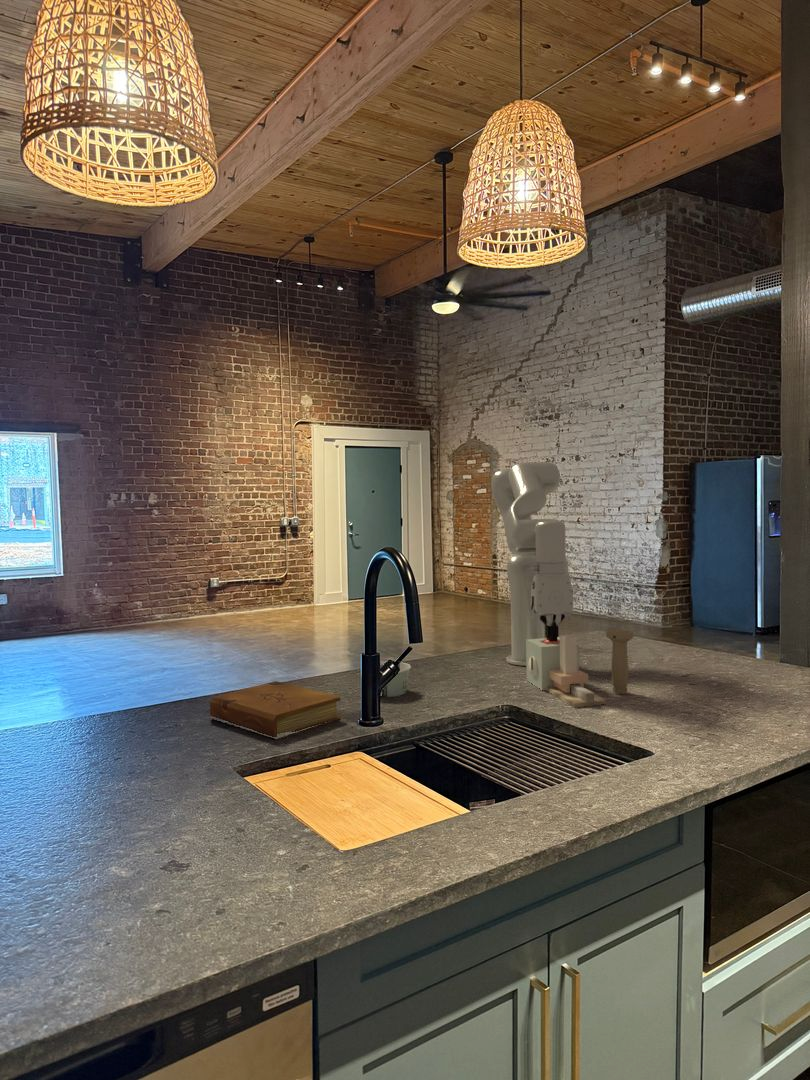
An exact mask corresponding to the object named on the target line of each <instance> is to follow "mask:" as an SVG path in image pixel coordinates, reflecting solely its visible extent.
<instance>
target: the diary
mask: <svg viewBox="0 0 810 1080" xmlns="http://www.w3.org/2000/svg"><path fill="white" fill-rule="evenodd" d="M339 701H341V696H340V695H336V694H331V693H328V692H323V691H318V690H314V689H311V688H307V687H302V686H299V685H293V684H290V683H285V682H281V681H278V680H277V681H276V680H274V681H271V682H270V681H269V682H266V683H264V684H259V685H254V686H251V687H247V688H242V689H239V690H235V691H231V692H227V693H222V694H220V695H215V696H212V698H211V699H210V700H209V713H210V715H209V716H213V717H216V718H219V719H222V720H225V721H228V722H230V723H233V724H236V725H239V726H243V727H246V728H249V729H252V730H254V731H257V732H259V733H262V734H266V735H269V736H272V737H277V734H280V733H285V732H289V731H292V732H294V731H295V732H296V731H299V730H302V729H305V728H308V727H312V726H316V725H319V724H323V723H325V722H329V721H332V720H336V719H339V720H341V719H342V717H341V716H339V715H338V714H337V713H338V712H337V710H338V709H337V708H338V707H337V703H338V702H339ZM340 718H341V719H340ZM336 721H337V720H336ZM293 730H294V731H293Z"/></svg>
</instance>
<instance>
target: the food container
mask: <svg viewBox="0 0 810 1080" xmlns="http://www.w3.org/2000/svg"><path fill="white" fill-rule="evenodd" d="M380 662H381V664H382V665H383V664H384V663H386V662H387V661H380ZM400 662H401V661H400ZM411 669H412V666H411V664H409V663H406V662H401V663H400V671H399V672H398V674H397V675H396V676H395V677H394V678H393V679H392V680H391V681H390V682H389V683H388V684H387V685H386V686H385V687H384V689H383V690H382V697H381V698H392V697H400V696H402V694H403V695H404V693H405V694H406V693H407V689H408V688H407V687H408V680H409V675H410V674H409V673H410V670H411Z"/></svg>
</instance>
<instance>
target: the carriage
mask: <svg viewBox="0 0 810 1080" xmlns="http://www.w3.org/2000/svg"><path fill="white" fill-rule="evenodd" d="M559 637H560V669H558V670H549V678H550V679H552V680H553V681H554V686H555V687H557V688H559V689H560V690H562V691H564V692H566V693H569V692H570V684H578V685H580V686H582V687H584V685H585V684H588V683H589V674H588V673H586V672H585V671H582V670H580V669H579V670H578V669H577V646H576V643H577V636H576V635H573V634H572V633H571V634H559ZM584 688H585V687H584Z"/></svg>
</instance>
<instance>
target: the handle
mask: <svg viewBox="0 0 810 1080" xmlns="http://www.w3.org/2000/svg"><path fill="white" fill-rule="evenodd" d="M605 635H606V638H608V639H609V640H610V641H612V653H611V655H612V657H611V682H612V691H613V693H614V692H615V693H614V694H616V695H625V693H626V694H627V693H628V688H627V687H628V685H629V661H628V660H629V659H628V642H630V641H631V640H632V639H634V632H633V631H628V630H621V629H620V630H619V629H616V630H615V629H611V630H606V632H605ZM619 693H620V694H619Z"/></svg>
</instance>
